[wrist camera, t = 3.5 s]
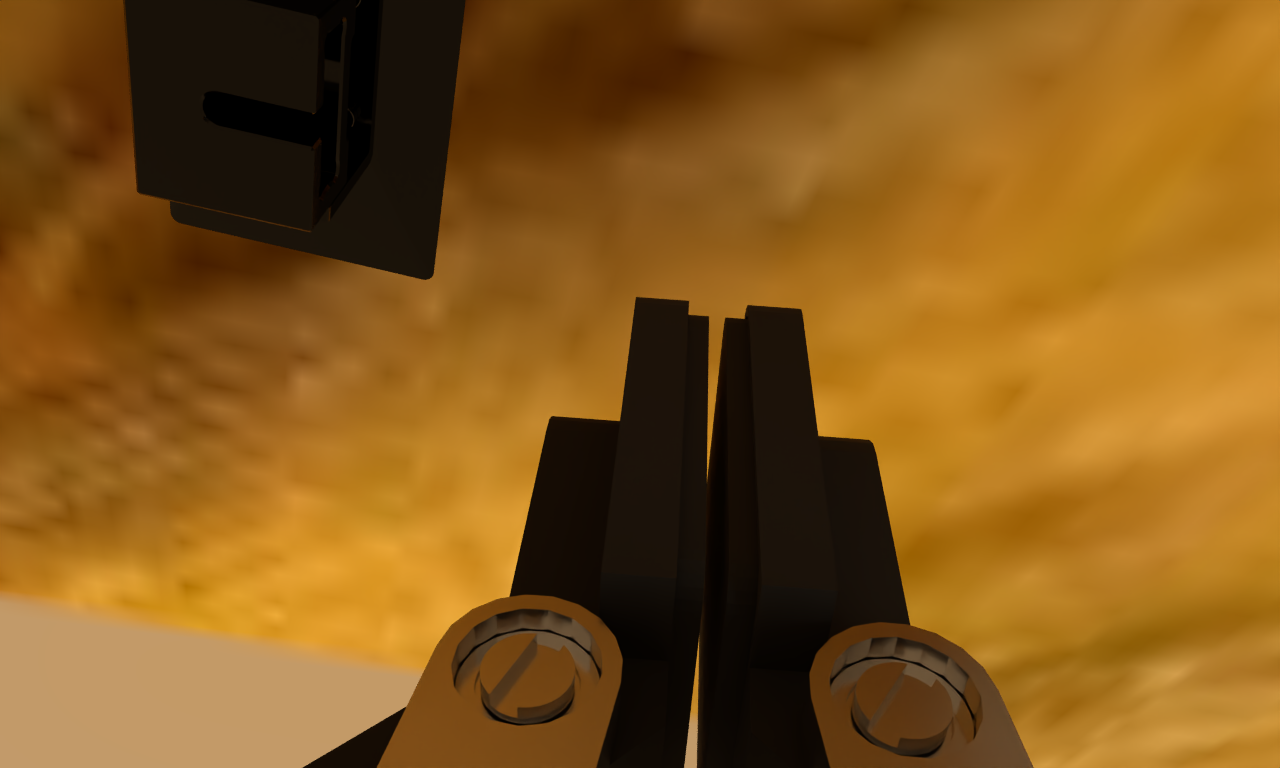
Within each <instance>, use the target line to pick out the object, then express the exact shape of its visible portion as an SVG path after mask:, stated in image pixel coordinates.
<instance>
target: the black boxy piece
mask: <svg viewBox="0 0 1280 768" xmlns="http://www.w3.org/2000/svg"><path fill="white" fill-rule="evenodd" d="M123 3H124V17H125V31H126V45H127V59H128V73H129V87H130V101H131V115H132V129H133V143H134V157H135V171H136V185H137V192H138V193H139V194H142V195H146V196H151V197H155V198H159V199H164V200H168V201H170V209H171V215H172V217H173V218H174V220H176V221H177V222H179V223H182V224H186V225H191V226H195V227H199V228H204V229H208V230H212V231H217V232H221V233H225V234H229V235H234V236H238V237H242V238H247V239H251V240H255V241H260V242H264V243H268V244H273V245H277V246H281V247H285V248H290V249H294V250H298V251H303V252H307V253H311V254H316V255H320V256H324V257H329V258H333V259H337V260H342V261H346V262H350V263H354V264H359V265H363V266H367V267H372V268H376V269H380V270H385V271H389V272H393V273H398V274H402V275H406V276H411V277H415V278H419V279H424V280H427V279H430V278H431V277H432V276H433V274H434V265H435V257H436V248H437V240H438V231H439V223H440V214H441V205H442V197H443V188H444V180H445V171H446V163H447V154H448V145H449V137H450V128H451V120H452V111H453V103H454V94H455V86H456V77H457V68H458V60H459V51H460V43H461V34H462V26H463V17H464V8H465V0H123Z"/></svg>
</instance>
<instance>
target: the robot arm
mask: <svg viewBox="0 0 1280 768" xmlns="http://www.w3.org/2000/svg"><path fill="white" fill-rule="evenodd" d="M688 309H689V301H683V300H669V299H655V298H642V297H636V301H635V309H634V317H633V324H632V332H631V340H630V348H629V356H628V364H627V371H626V379H625V387H624V395H623V403H622V411H621V418H620V421H609V420H596V419H583V418H569V417H556V416H552V417H551V418H550V419H549V423H548V426H547V430H546V435H545V439H544V444H543V448H542V453H541V457H540V462H539V466H538V471H537V475H536V480H535V484H534V489H533V493H532V498H531V502H530V507H529V511H528V516H527V520H526V525H525V529H524V534H523V538H522V543H521V547H520V552H519V556H518V561H517V565H516V570H515V574H514V579H513V584H512V588H511V593H510V597H507V598H500V599H496V600H494V601H491V602H489V603H487V604H484V605H482V606H479V607H477V608H474V609H472V610H471V611H469V612H468V613H467V614H465V615H464V616H463V617H461V618H460V619H459V620H457V621H456V622H455V623H453V624H452V625H451V626H450V628H449V629H448V630H447V632H446V633H445V634H444V636H443V637H442V639H441V640H440V641H439V643H438V644H437V646H436V648H435V650H434V652H433V654H432V656H431V658H430V660H429V662H428V664H427V666H426V668H425V670H424V672H423V674H422V676H421V678H420V680H419V682H418V684H417V686H416V689H415V691H414V693H413V695H412V697H411V699H410V701H409V703H408V705H407V707H405V708H403V709H401V710H400V711H398V712H396V713H395V714H393V715H391V716H389V717H388V718H386V719H384V720H383V721H381V722H379V723H378V724H376V725H374V726H373V727H371V728H369V729H367V730H366V731H364V732H363V733H361V734H359V735H357V736H356V737H354V738H352V739H350V740H349V741H347V742H346V743H344V744H342V745H340V746H339V747H337V748H335V749H334V750H332V751H330V752H328V753H327V754H325V755H323V756H322V757H320V758H318V759H316V760H315V761H313V762H311V763H310V764H308V765H306V766H305V767H303V768H684V763H685V755H686V746H687V737H688V729H689V720H690V711H691V702H692V694H693V685H694V676H695V668H696V659H697V650H698V641H699V686H698V741H697V743H698V744H697V768H1033V765H1032V763H1031V761H1030V759H1029V757H1028V755H1027V752H1026V750H1025V748H1024V746H1023V744H1022V741H1021V739H1020V737H1019V735H1018V733H1017V730H1016V728H1015V726H1014V724H1013V722H1012V719H1011V717H1010V715H1009V713H1008V711H1007V708H1006V706H1005V704H1004V702H1003V700H1002V697H1001V695H1000V693H999V691H998V689H997V688H996V686H995V685H994V683H993V681H992V680H991V678H990V677H989V675H988V674H987V672H986V671H985V669H984V668H983V667H982V666H981V665H980V664H979V663H978V662H977V661H976V660H975V659H973V658H972V657H971V656H970V655H969V654H968V653H967V652H966V651H965V650H964V649H962V648H961V647H959V646H957V645H956V644H954V643H952V642H950V641H949V640H947V639H945V638H943V637H941V636H940V635H938V634H936V633H933V632H930V631H927V630H923V629H920V628H917V627H914V626H911V625H910V621H909V616H908V611H907V606H906V601H905V596H904V591H903V586H902V581H901V576H900V571H899V566H898V561H897V556H896V551H895V546H894V541H893V536H892V531H891V526H890V521H889V516H888V511H887V506H886V501H885V496H884V491H883V486H882V481H881V476H880V471H879V466H878V461H877V456H876V452H875V449H874V445H873V443H872V442H871V441H870V440H863V439H850V438H836V437H823V436H818V430H817V423H816V415H815V407H814V400H813V392H812V384H811V376H810V369H809V361H808V353H807V346H806V338H805V330H804V322H803V315H802V310H801V309H794V308H780V307H766V306H752V305H747V308H746V313H745V319H738V318H725V323H724V330H723V339H722V348H721V358H720V367H719V376H718V385H717V395H716V404H715V413H714V422H713V432H712V441H711V450H710V459H709V469H708V478H707V423H708V347H709V316H696V315H688Z"/></svg>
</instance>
